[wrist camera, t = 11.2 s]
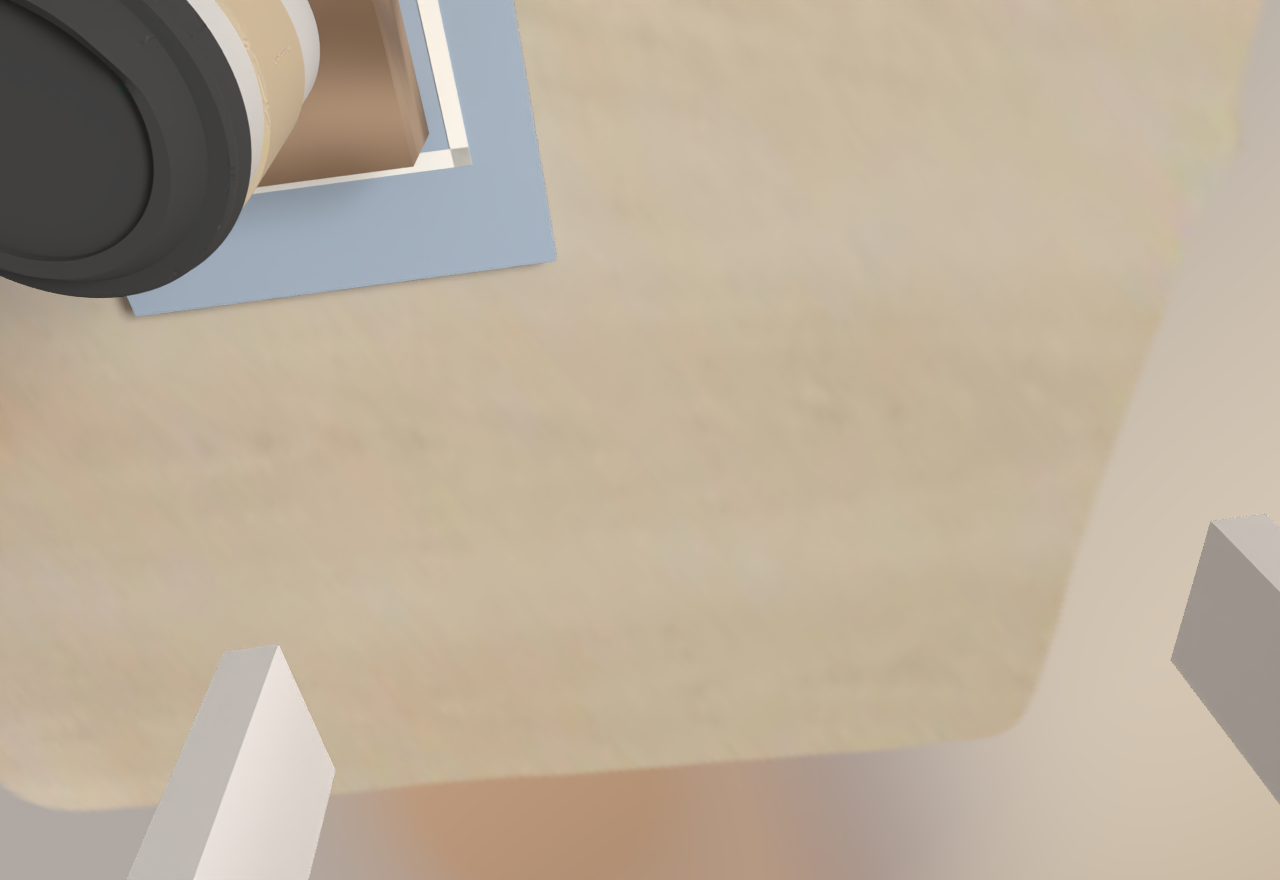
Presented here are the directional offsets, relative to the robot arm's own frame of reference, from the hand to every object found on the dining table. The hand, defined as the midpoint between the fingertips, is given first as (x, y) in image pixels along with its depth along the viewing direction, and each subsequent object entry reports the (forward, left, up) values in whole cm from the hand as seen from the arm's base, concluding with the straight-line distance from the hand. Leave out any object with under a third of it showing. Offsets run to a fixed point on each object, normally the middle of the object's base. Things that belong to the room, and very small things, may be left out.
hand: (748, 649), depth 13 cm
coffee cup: (-6, -14, -27) cm, 31 cm away
